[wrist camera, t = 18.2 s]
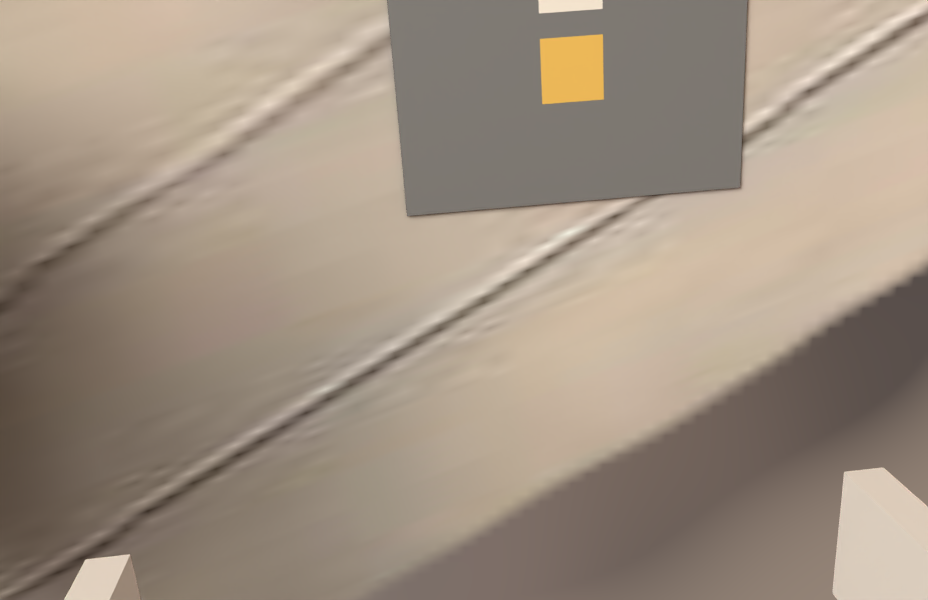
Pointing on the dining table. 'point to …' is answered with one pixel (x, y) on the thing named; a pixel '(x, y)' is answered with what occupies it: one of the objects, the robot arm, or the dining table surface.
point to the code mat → (566, 99)
